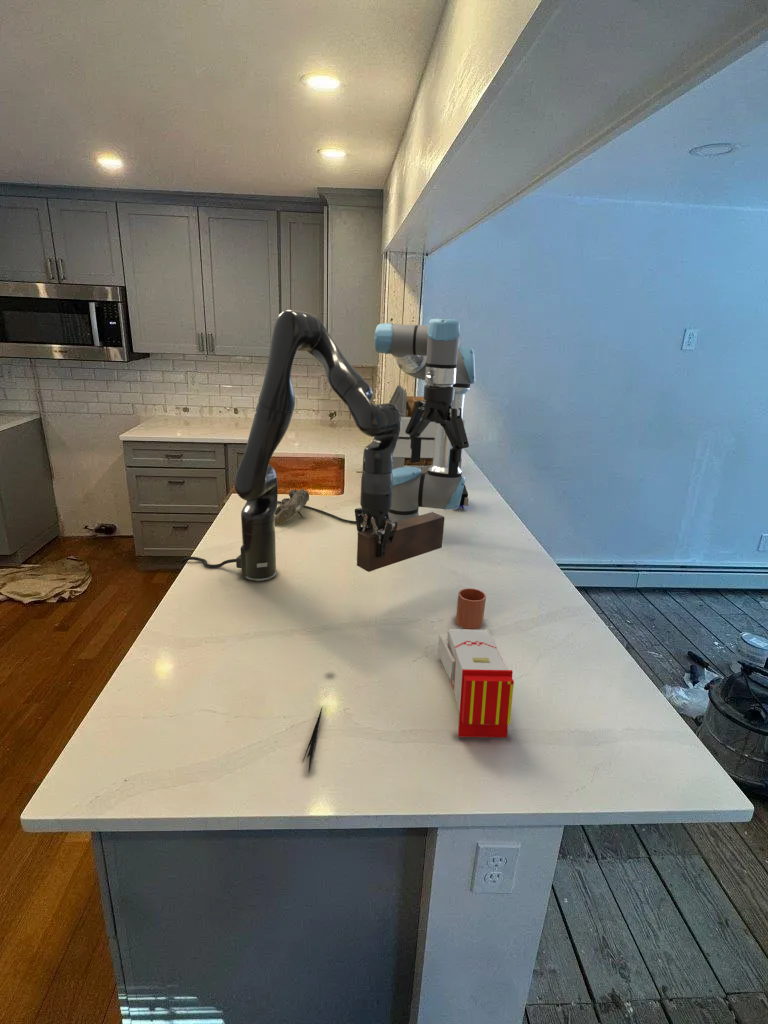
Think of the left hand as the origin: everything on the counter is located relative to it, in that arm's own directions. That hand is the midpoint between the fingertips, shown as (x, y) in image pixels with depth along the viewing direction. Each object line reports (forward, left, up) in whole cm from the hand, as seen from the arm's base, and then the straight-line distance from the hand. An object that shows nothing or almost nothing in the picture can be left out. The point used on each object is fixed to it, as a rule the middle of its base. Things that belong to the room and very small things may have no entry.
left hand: (373, 553), depth 141 cm
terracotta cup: (+25, -2, -17) cm, 31 cm away
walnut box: (+7, +6, -3) cm, 10 cm away
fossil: (-33, +69, -17) cm, 78 cm away
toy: (+22, -30, -17) cm, 41 cm away
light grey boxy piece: (+17, +136, -17) cm, 139 cm away
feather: (-8, -41, -17) cm, 45 cm away
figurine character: (+31, +90, -17) cm, 97 cm away
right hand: (+14, +13, +19) cm, 27 cm away
